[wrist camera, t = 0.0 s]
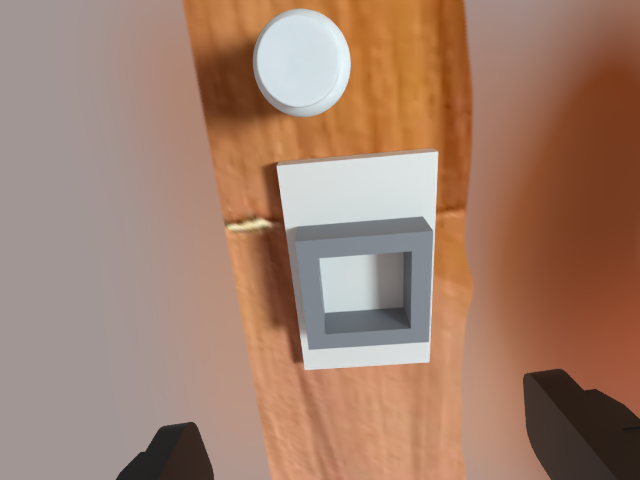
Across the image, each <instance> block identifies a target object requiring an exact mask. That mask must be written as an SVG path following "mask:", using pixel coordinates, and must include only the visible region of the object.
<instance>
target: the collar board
mask: <svg viewBox="0 0 640 480" xmlns="http://www.w3.org/2000/svg"><path fill="white" fill-rule="evenodd" d="M437 169H438V151H437V150H435V149H433V148H427V149H416V150H404V151H393V152H382V153H371V154H359V155H348V156H337V157H326V158H314V159H303V160H292V161H281V162H278V164H277V173H278V180H279V187H280V194H281V201H282V209H283V216H284V223H285V230H286V237H287V245H288V252H289V259H290V266H291V273H292V281H293V288H294V295H295V302H296V309H297V317H298V324H299V331H300V338H301V345H302V353H303V360H304V367H305V370H313V369H329V368H345V367H361V366H377V365H392V364H408V363H424V362H429V360H430V336H431V312H432V288H433V264H434V240H435V216H436V193H437Z"/></svg>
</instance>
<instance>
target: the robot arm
mask: <svg viewBox="0 0 640 480" xmlns="http://www.w3.org/2000/svg"><path fill="white" fill-rule="evenodd" d="M523 385H524V401H525V416H526V428H527V433H528V437H529V440H530V443H531V446H532V448H533V450H534V453H535V454H536V456H537V458H538V460H539V461H540V463H541V465H542V466H543V468H544V469H545V471H546V472H547V474H548V476H549V477H550V479H551V480H640V419H639V418H638V417H637V416H636V415H635V414H634V413H633V412H631V411H630V410H629V409H628V408H627V407H626V406H625V405H624V404H622V403H620V402H618V401H616V400H615V399H613V398H611V397H609V396H607V395H606V394H604V393H602V392H600V391H598V390H597V389H593V390H585V391H584V390H583V389H582V388H581V387H580V386H579V385H578V384H577V383H576V382H575V381H574V380H573V379H572V378H571V377H570V376H569V375H568V374H567V373H566V372H565V371H564V370H562V369H553V370H546V371H540V372H533V373H527V374H525V375H524V378H523ZM116 480H214V474H213V469H212V465H211V463H210V460H209V457H208V454H207V452H206V449H205V446H204V443H203V441H202V438H201V435H200V432H199V430H198V427H197V426H196V424H195V423H193V422H188V423H181V424H174V425H167V426H163V427H161V428H160V429H159V430H158V431H157V433H156V435H155V436H154V438H153V440H152V441H151V443H150V445H149V446H148V448H147V450H146V451H145V452H140V453H139V454H138V455H137V456H136V457H135V458H134V459H133V460H132V461H131V462H130V463H129V464H128V465H127V466H126V467H125V468H124V469H123V470H122V471H121V472H120V474H119V475H118V477H117V479H116Z"/></svg>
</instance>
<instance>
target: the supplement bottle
mask: <svg viewBox="0 0 640 480" xmlns="http://www.w3.org/2000/svg"><path fill="white" fill-rule="evenodd" d="M350 69H351V61H350V53H349V48H348V45H347V42H346V40H345V38H344V36H343V34H342V33H341V31H340V30H339V28H338V27H337V26H336V25H335V24H334V23H333V22H332V21H331V20H330V19H329V18H327V17H326V16H324V15H323V14H321V13H319V12H316V11H313V10H309V9H292V10H288V11H285V12H283V13H281V14H279V15H277V16H275V17H274V18H273V19H272V20H270V21H269V22H268V23H267V24H266V26H265V27H264V28H263V30H262V31H261V33H260V35H259V37H258V39H257V41H256V44H255V48H254V53H253V70H254V75H255V79H256V82H257V85H258V87H259V89H260V91H261V93H262V94H263V96H264V97H265V98H266V99H267V101H268V102H269V103H270V104H271V105H273V106H274V107H275V108H276V109H278V110H279V111H281V112H283V113H285V114H288V115H291V116H296V117H310V116H315V115H318V114H320V113H322V112H324V111H326V110H328V109H329V108H330V107H332V106H333V105H334V104H335V103H336V102H337V101H338V100H339V98H340V97H341V96H342V94H343V92H344V90H345V88H346V86H347V83H348V80H349V76H350Z"/></svg>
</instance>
